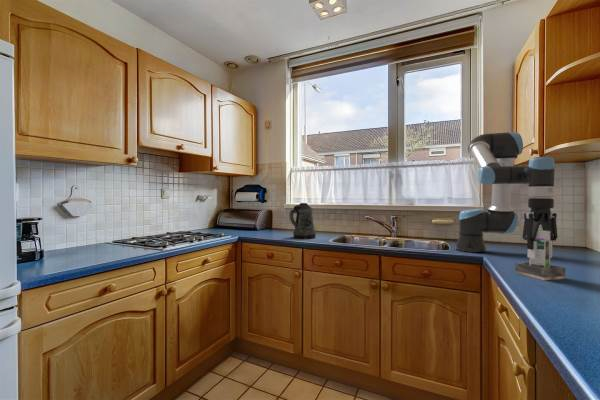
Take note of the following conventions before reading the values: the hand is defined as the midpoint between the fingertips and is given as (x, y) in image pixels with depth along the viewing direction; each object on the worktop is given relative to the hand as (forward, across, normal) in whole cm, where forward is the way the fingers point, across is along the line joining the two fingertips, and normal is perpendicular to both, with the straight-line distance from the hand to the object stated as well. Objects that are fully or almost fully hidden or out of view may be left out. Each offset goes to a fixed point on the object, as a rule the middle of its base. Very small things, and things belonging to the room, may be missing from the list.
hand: (539, 257), depth 110 cm
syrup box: (+4, 0, 0) cm, 4 cm away
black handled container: (+7, -61, +117) cm, 132 cm away
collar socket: (+7, 0, 0) cm, 7 cm away
